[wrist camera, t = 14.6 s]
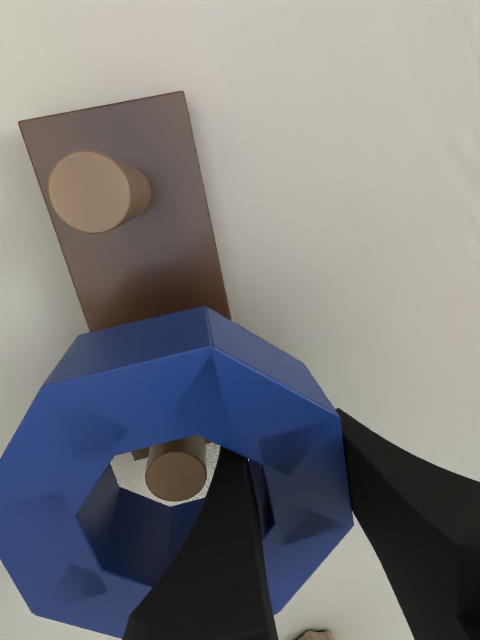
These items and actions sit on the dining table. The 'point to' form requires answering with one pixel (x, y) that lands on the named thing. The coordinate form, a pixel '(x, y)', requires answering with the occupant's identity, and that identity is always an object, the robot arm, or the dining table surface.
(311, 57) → the dining table surface
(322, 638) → the handle
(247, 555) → the robot arm
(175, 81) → the dining table surface
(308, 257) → the dining table surface
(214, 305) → the rack
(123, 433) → the ring
